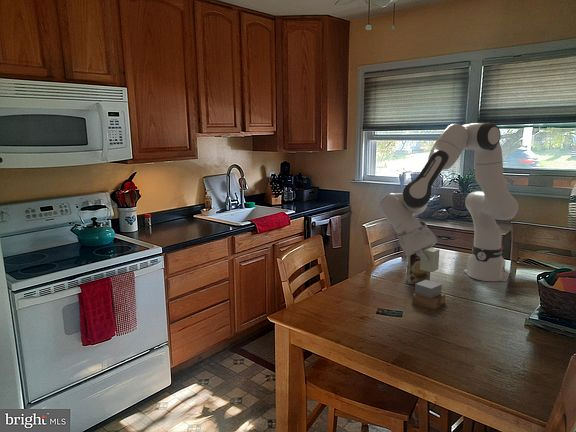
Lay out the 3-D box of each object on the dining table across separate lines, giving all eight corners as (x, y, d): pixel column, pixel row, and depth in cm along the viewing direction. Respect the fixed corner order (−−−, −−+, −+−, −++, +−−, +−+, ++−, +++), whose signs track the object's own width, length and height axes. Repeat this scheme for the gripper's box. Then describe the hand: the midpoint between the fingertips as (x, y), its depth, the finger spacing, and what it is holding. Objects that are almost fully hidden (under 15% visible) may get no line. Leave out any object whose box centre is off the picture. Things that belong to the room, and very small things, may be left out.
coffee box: (408, 284, 180) (410, 249, 177) (406, 279, 186) (407, 245, 183) (430, 284, 179) (432, 249, 176) (426, 279, 185) (428, 245, 182)
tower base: (423, 297, 166) (424, 288, 165) (444, 303, 160) (445, 294, 159) (412, 304, 160) (412, 294, 159) (433, 310, 153) (434, 300, 153)
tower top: (425, 289, 164) (426, 279, 164) (441, 294, 159) (441, 284, 158) (415, 293, 160) (415, 283, 160) (430, 298, 155) (431, 288, 154)
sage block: (426, 266, 161) (427, 246, 159) (438, 269, 157) (439, 249, 156) (420, 269, 157) (421, 249, 156) (432, 272, 154) (433, 251, 152)
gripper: (401, 229, 152) (424, 260, 147) (426, 221, 166) (448, 248, 161) (390, 239, 156) (412, 269, 151) (416, 230, 170) (437, 257, 165)
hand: (431, 258), depth 156 cm, fingers closed on sage block, 5 cm apart
